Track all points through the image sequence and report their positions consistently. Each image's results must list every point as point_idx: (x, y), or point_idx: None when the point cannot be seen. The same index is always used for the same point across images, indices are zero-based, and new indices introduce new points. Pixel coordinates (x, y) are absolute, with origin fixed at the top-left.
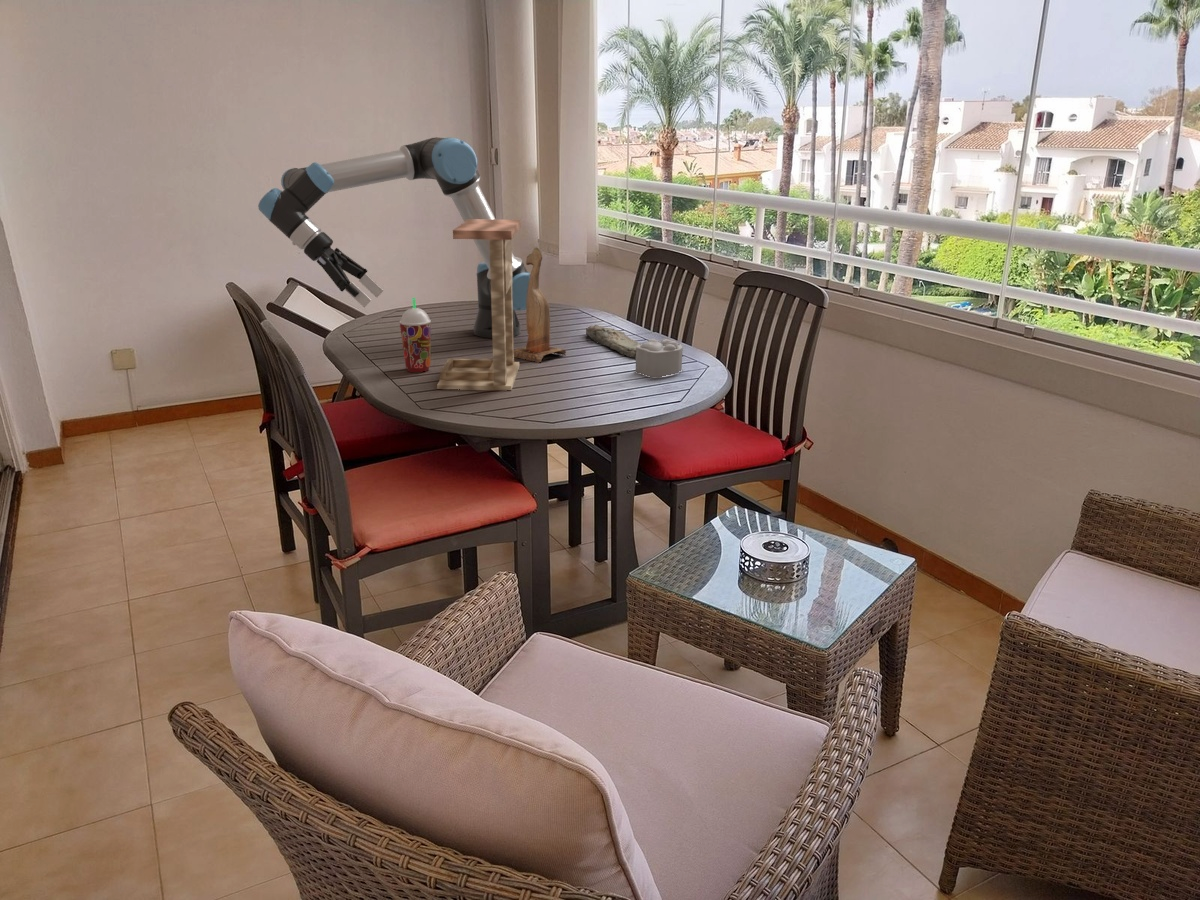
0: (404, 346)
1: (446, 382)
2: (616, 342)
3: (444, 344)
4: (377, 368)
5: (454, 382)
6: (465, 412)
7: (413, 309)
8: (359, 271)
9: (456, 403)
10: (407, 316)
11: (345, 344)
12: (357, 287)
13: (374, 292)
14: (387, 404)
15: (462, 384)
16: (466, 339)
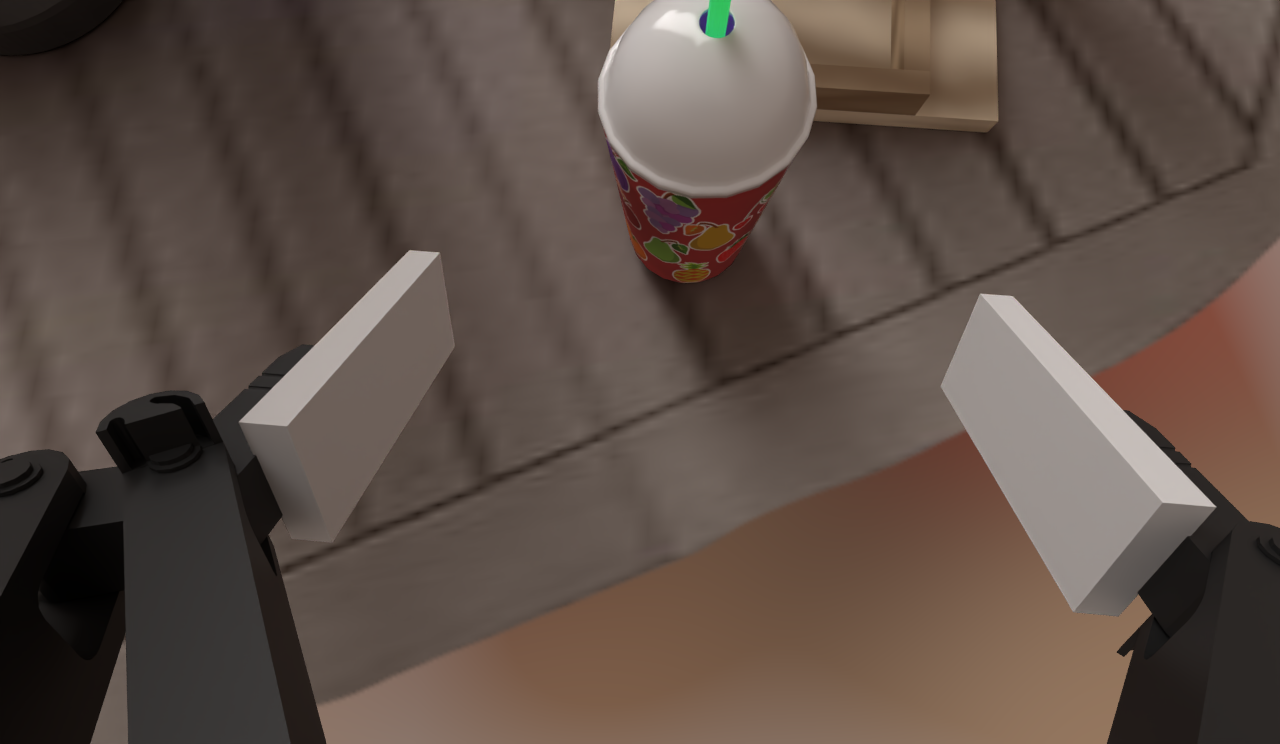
0: (739, 236)
1: (956, 88)
2: None
3: (220, 170)
4: (649, 423)
5: (955, 58)
6: (1270, 12)
7: (751, 29)
8: (249, 528)
9: (1164, 49)
10: (789, 101)
11: None
12: (1124, 421)
13: (431, 354)
14: (1210, 298)
15: (982, 27)
16: (136, 82)
